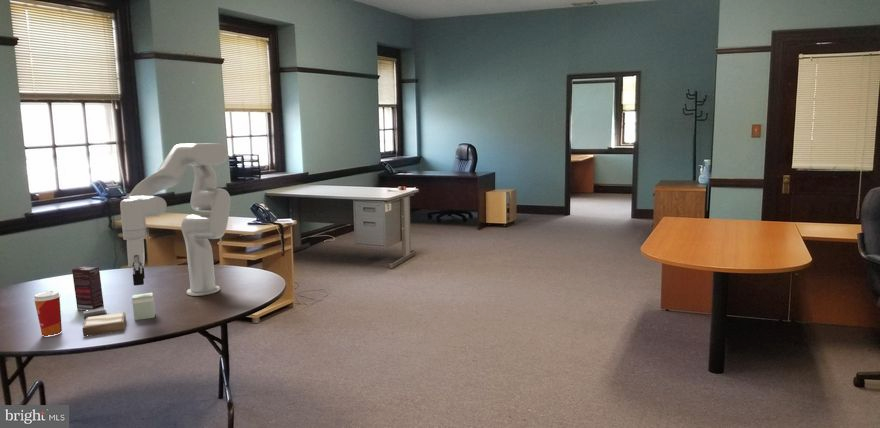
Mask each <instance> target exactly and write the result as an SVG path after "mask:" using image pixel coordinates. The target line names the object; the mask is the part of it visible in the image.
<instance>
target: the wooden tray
mask: <svg viewBox="0 0 880 428" xmlns="http://www.w3.org/2000/svg"><path fill="white" fill-rule="evenodd" d="M126 315H127V314H126V312H125V311H124V312H123V311H122V312H116V313H107V315H100V316H93V317H87V318H86V320H85V322H84V321H83V325H82V327H81V328H82V335H83V336H86V337H91V336H90V335H92V336H98V334H99V335H104V334H111V332H112V333H118V331H119V332H123V331H125V329H126V328H125V327H126V322H127V317H126ZM87 335H88V336H87Z"/></svg>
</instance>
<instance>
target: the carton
mask: <svg viewBox="0 0 880 428" xmlns="http://www.w3.org/2000/svg"><path fill="white" fill-rule="evenodd" d="M131 302H132V303H131V304H132V310H133V316H134V317H133V319H134V321H138V320H139V319H140V320H145V319H152V318H155V316H156V310H155V301H154V294H153V292H146V293H137V294H132V296H131ZM140 320H139V321H140Z"/></svg>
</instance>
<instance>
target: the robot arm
mask: <svg viewBox="0 0 880 428" xmlns="http://www.w3.org/2000/svg"><path fill="white" fill-rule="evenodd" d="M168 152H169V153H168V154H167V155H166V157H165V158H164V159H163V162H161V164H160V165H159V167H158V169H157V170H156V171H154V172H153V173H151V174H150V175H148V176H146V177H145V178H144V179H143V180H141V181H140V182H138V183H137V184H136V185H135V186H134V188H133V189H132V190H131V192H130V193H129V194H128V197H127V198H125V199H123V200H121V201H120V203H119V205H120V206H119V208H120V209H119V210H120V217H121V229H122V238H123V240H124V241H126V252H127V264H128V268H129V269H131V268H132V281H133V286H143V285H144V284H145V281H144V280H145V275H146V274H145V268H144V265H145V260H146V259H145V242H144V240H145V239H146V238H148V232H147V222H146V221H147V220H146V218H151V217H152V218H157V217H160V216H163V215H164V214H165V212H166V210H167V208H168V207H167V206H168V205H167V201H166V200H165V199H164V198H163V197H161V196H157V195H156V194H157V193H159V192H162V191H164V190H167V189H171V188H172V187H175V186H176V185H178V184H179V183H180V181H181V179H182V178H183V176H184V175H185V173H186V172H187V170H188V168H189V167H192V170H193V173H194V178H193V179H194V180H193V186H192V190H191V191H192V192H191V196H190V203H189V204H190V207H191V208H192V210H194V211H195V212H201V214H200V213H194V214H188V215H187V216H185V217H184V218H183V219H182V221H181V224H180V227H181V232H182V235H183V239H184V243H185V249H186V258H187V270H188V276H189V288H188V289H187V290H186V294H187V295H188V296H192V297H194V296H195V297H199V296H202V297H203V296H207V295H212V294H215V293H218V292H219V291H220V290H221V287H220V286H219V285H216V277H215V267H214V257H213V255H214V254H213V248H212V244H211V242H210V241H209V239H210V240H215V239H216V240H217V239H221V238H222V237H224V235H225V234H226V230H227V226H228V221H229V217H230V216H229V215H230V211H231V205H232V200H231V194H229V192H228V191H227V189H224V188H220V187H217V181H218V175H217V173H216V171H215V169H214V168H213V167H212V166H218V165H222V164H224V163H225V162H226V161H227V159H228V155H229V153H228V149H227V147H226V146H225V145H224V144H222V143H220V142H214V143H213V142H212V143H211V142H210V143H209V142H208V143H207V142H206V143H205V142H204V143H203V142H200V143H199V142H198V143H178V144H175V145H174V146H173V147H172V148H171V149H170V151H168ZM204 212H205V213H210V214H203V213H204Z"/></svg>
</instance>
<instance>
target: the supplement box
mask: <svg viewBox="0 0 880 428" xmlns="http://www.w3.org/2000/svg"><path fill="white" fill-rule="evenodd" d="M71 271H72V281H73V287H74V294H75V302H76V309H82V310H81V311H83V310H94V309H99V308H104V309H105V305H104V297H103V289H102V280H101V273H100V267H98V266H82V265H81V266H78V267H75V268H72V269H71Z"/></svg>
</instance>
